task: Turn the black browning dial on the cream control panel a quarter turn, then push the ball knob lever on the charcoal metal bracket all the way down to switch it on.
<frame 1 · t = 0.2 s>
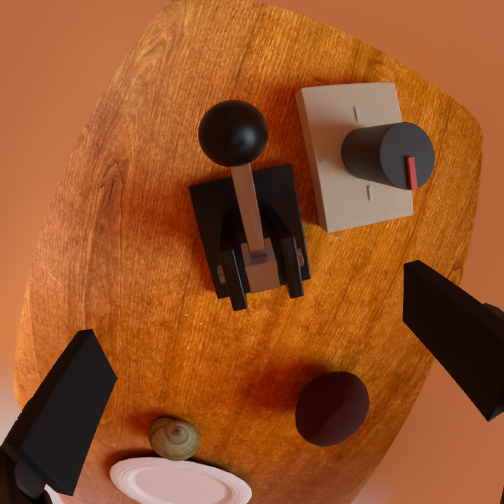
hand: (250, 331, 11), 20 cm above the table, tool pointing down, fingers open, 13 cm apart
dial panel: (353, 153, 29), on the table
plate: (180, 485, 47), on the table
ball knob lever: (248, 206, 18), point 12 cm above the table, hinge at 25.0°
lever bracket: (251, 231, 31), on the table
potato: (321, 387, 39), on the table
seashell: (175, 429, 40), on the table
browning dial: (384, 154, 22), point 7 cm above the table, hinge at 0.0°
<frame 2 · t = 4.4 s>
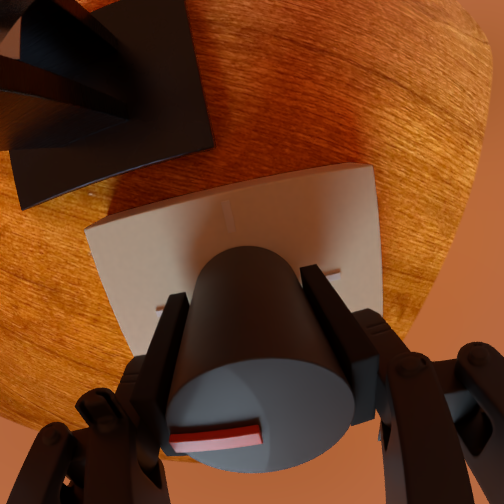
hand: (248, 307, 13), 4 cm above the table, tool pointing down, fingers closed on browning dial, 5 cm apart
dial panel: (244, 272, 17), on the table
lever bracket: (95, 95, 14), on the table
browning dial: (252, 346, 11), point 7 cm above the table, hinge at 0.0°, touching gripper
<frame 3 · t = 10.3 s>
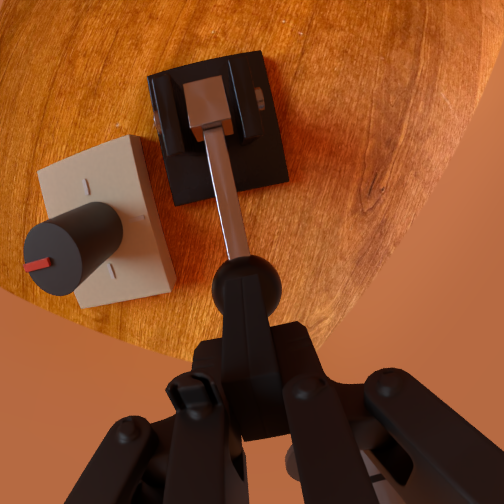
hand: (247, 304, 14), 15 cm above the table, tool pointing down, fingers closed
dial panel: (110, 222, 27), on the table
ball knob lever: (227, 197, 16), point 11 cm above the table, hinge at 16.5°, touching gripper
lever bracket: (217, 126, 25), on the table
browning dial: (76, 243, 20), point 7 cm above the table, hinge at 89.3°
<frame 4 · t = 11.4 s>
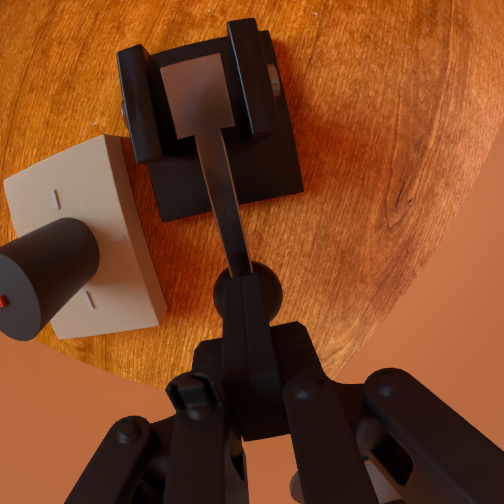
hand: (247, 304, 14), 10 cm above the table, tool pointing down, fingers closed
dial panel: (87, 240, 22), on the table
ball knob lever: (227, 212, 13), point 9 cm above the table, hinge at -14.3°, touching gripper
lever bracket: (214, 122, 20), on the table
browning dial: (40, 272, 15), point 7 cm above the table, hinge at 89.3°
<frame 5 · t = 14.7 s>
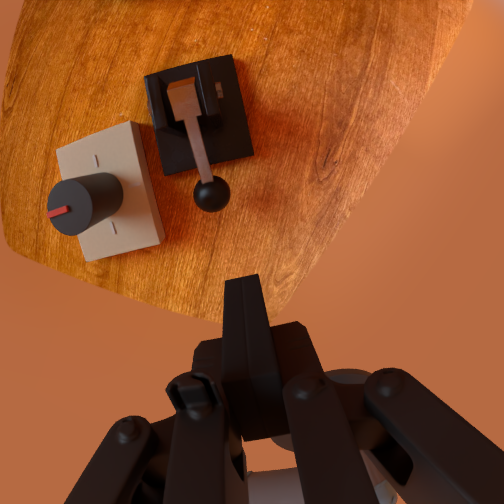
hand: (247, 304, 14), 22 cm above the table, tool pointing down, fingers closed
dial panel: (113, 191, 33), on the table
ball knob lever: (199, 151, 25), point 7 cm above the table, hinge at -28.8°
lever bracket: (198, 114, 31), on the table
browning dial: (87, 200, 26), point 7 cm above the table, hinge at 89.3°
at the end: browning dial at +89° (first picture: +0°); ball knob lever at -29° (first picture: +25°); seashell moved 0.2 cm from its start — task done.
